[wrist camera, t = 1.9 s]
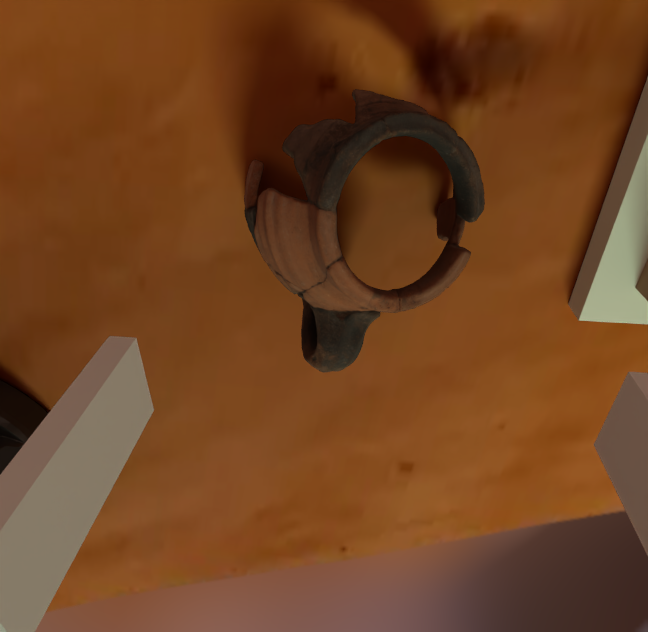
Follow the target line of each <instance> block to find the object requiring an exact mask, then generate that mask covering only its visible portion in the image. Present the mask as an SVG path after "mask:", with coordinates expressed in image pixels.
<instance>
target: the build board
mask: <svg viewBox="0 0 648 632" xmlns="http://www.w3.org/2000/svg"><path fill="white" fill-rule="evenodd" d="M647 259H648V77H647V80H646V83H645V86H644V89H643V92H642V94H641V97H640V100H639V103H638V106H637V109H636V112H635V114H634V117H633V120H632V123H631V126H630V129H629V132H628V135H627V137H626V140H625V143H624V146H623V149H622V152H621V155H620V157H619V160H618V163H617V166H616V169H615V172H614V175H613V178H612V180H611V183H610V186H609V189H608V192H607V195H606V198H605V201H604V203H603V206H602V209H601V212H600V215H599V218H598V221H597V223H596V226H595V229H594V232H593V235H592V238H591V241H590V244H589V246H588V249H587V252H586V255H585V258H584V261H583V264H582V267H581V269H580V272H579V275H578V278H577V281H576V284H575V287H574V289H573V292H572V295H571V298H570V301H569V304H568V305H569V306H570V308H571V309H572V311H573V312H574V314H575V316H576V317H577V319H578V320H580V321H598V322H617V323H635V324H648V301H647V300H646V299H645V298H644V297H643V296H642V295H641V293H640V292H639V291H638V290H637V289H636V288H635V287H636V285H637V282H638V280H639V278H640V275H641V273H642V271H643V268H644V266H645V264H646V261H647Z"/></svg>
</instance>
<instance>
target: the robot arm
mask: <svg viewBox="0 0 648 632" xmlns="http://www.w3.org/2000/svg"><path fill="white" fill-rule="evenodd" d="M153 411H154V409H153V404H152V400H151V396H150V392H149V388H148V384H147V380H146V376H145V372H144V368H143V364H142V360H141V355H140V351H139V347H138V343H137V339H136V338H131V337H116V336H109V337H108V338H107V340H106V341H105V342H104V344H103V345H102V346H101V347H100V349H99V350H98V351H97V352H96V354H95V355H94V356H93V358H92V359H91V360H90V361H89V363H88V364H87V365H86V366H85V368H84V369H83V370H82V372H81V373H80V374H79V375H78V377H77V378H76V379H75V380H74V382H73V383H72V384H71V386H70V387H69V388H68V389H67V391H66V392H65V393H64V394H63V396H62V397H61V398H60V400H59V401H58V402H57V403H56V405H55V406H54V407H53V408H52V410H51V411H50V412H49V413H47V412H46V411H45V410H44V409H43V408H42V407H41V406H39V405H38V404H37V403H36V402H34V401H33V400H32V399H30V398H29V397H27V396H26V395H25V394H23V393H22V392H20V391H18V390H17V389H15V388H13V387H12V386H10V385H8V384H6V383H4V382H2V381H0V632H35V630H36V629H37V626H38V625H39V623H40V621H41V619H42V617H43V615H44V614H45V612H46V610H47V608H48V606H49V604H50V602H51V601H52V599H53V597H54V595H55V593H56V591H57V589H58V588H59V586H60V584H61V582H62V580H63V578H64V576H65V575H66V573H67V571H68V569H69V567H70V565H71V563H72V562H73V560H74V558H75V556H76V554H77V552H78V550H79V549H80V547H81V545H82V543H83V541H84V539H85V537H86V536H87V534H88V532H89V530H90V528H91V526H92V524H93V523H94V521H95V519H96V517H97V515H98V513H99V511H100V510H101V508H102V506H103V504H104V502H105V500H106V498H107V497H108V495H109V493H110V491H111V489H112V487H113V485H114V483H115V482H116V480H117V478H118V476H119V474H120V472H121V470H122V469H123V467H124V465H125V463H126V461H127V459H128V457H129V456H130V454H131V452H132V450H133V448H134V446H135V444H136V443H137V441H138V439H139V437H140V435H141V433H142V431H143V430H144V428H145V426H146V424H147V422H148V420H149V418H150V417H151V415H152V413H153ZM594 446H595V448H596V450H597V452H598V454H599V457H600V459H601V461H602V463H603V465H604V467H605V469H606V471H607V473H608V475H609V477H610V479H611V481H612V483H613V485H614V487H615V489H616V492H617V494H618V496H619V498H620V500H621V502H622V504H623V506H624V508H625V510H626V512H627V514H628V516H629V518H630V520H631V522H632V524H633V527H634V529H635V531H636V533H637V535H638V537H639V539H640V541H641V543H642V545H643V547H644V549H645V551H646V553H647V555H648V373H639V372H628V374H627V376H626V378H625V380H624V382H623V385H622V387H621V389H620V391H619V393H618V395H617V397H616V399H615V401H614V403H613V406H612V408H611V410H610V412H609V414H608V416H607V418H606V420H605V422H604V425H603V427H602V429H601V431H600V433H599V435H598V437H597V439H596V441H595V443H594Z"/></svg>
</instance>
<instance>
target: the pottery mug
mask: <svg viewBox="0 0 648 632" xmlns="http://www.w3.org/2000/svg"><path fill="white" fill-rule="evenodd" d="M352 96H353V99H354V100H355V102H356V107H355V110H356V118H355V119H356V120H355V123H354V124H351V123H348V122H345V121H343V120H340V119H335V120H334V119H326V120H323V121H320V122H318V123H316V124H313V125H306V124H303V125H299V126H297V127H296V128H295V129H294V130H293V131H292V132H291V134H290V135H289V136H288V137H287V138H286V140H285V141H284V143H283V146H282V148H283V151H284V152H285V153H286V154H288V155H289V156H290V157H292V158H294V164H295V167H296V170H297V172H298V174H299V175H300V177H301V179H302V183H303V186H304V188H305V191H306V195H307V198H308V200H301V199H298V198H294V197H290V196H287V195H284V194H282V193H280V192H279V191H277V190H276V189H273V188H268V189H267V190H265V191H263V192H262V193H261V194H260V195H259V197H258V204H257V195H258V189H259V184H260V180H261V176H262V172H263V169H264V164H263V163H262V162H261V161H258V160H253V161H252V163H251V164H250V166H249V170H248V174H247V177H246V188H245V195H244V202H245V217H246V221H247V223H248V227H249V230H250V232H251V234H252V236H253V239H254V241H255V243H256V245H257V248H258V249H259V251H260V253H261V255H262V257H263V259H264V261H265V262H266V263H267V264H268V266H269V268H270V269H271V271H272V272H273V273H274V275H275V276H276V277H277V279H278V280H279V281H280V282H281V283H282V284H283V285H284V286H285V287H286V288H287V289H288V290H289V291H291V292H292V293H294V294H298V295H299V297H301V298H302V300H303V306H304V309H303V318H302V329H301V336H302V350H303V356H304V358H305V360H306V361H307V362H308V363H309V364H310V365H312V366H313V367H314V368H316V369H318V370H319V371H321V372H330V371H340V370H343V369H344V368H346V367H347V366H349V365H350V364H352V363H353V362H354V361H355V359H356V358H357V356H358V354H359V352H360V350H361V347H362V344H363V339H364V335H365V332H366V330H367V328H368V326H369V325H370V324H371V323H372V322H373V321H374V320H375V319H376V318H378V317H379V316H380V312H390V313H396V312H400V311H406V310H409V309H413V308H416V307H418V306H421V305H423V304H425V303H427V302H429V301H431V300H433V299H434V298H436V297H437V296H439V295H440V294H441V293H442V292H443V291H444V290H445V289H446V288H448V287H449V286H450V285H451V284H452V283H453V282H454V281H455V280H456V279H457V277H458V276H459V274H460V273H461V271H462V270H463V268H464V267H465V266H466V264H467V262H468V260H469V258H470V255H471V252H470V251H468V250H467V249H465V248H463V247H460V246H458V244H459V242H460V239H461V237H462V233H463V230H464V225H465V221H467V222H474V221H476V220H477V218H478V217H479V216H480V214H481V213H482V212H483V210H484V205H485V202H484V189H483V183H482V180H481V175H480V170H479V166H478V164H477V161H476V158H475V157H474V154H473V152H472V151H471V149H470V148H469V146H468V145H467V144H466V142H465V141H464V140H463V139H462V138H461V137H459V136H458V135H457V133H456V131H455V130H454V129H453V128H451V127H450V126H449V125H448V124H447V123H446V122H444V121H442V120H439V119H437V118H436V117H433V116H431V115H429V114H428V113H427V112H426V110H424V109H423V108H422V107H420V106H418V105H416V104H414V103H411V102H406V101H404V100H398V99H394V98H391V97H388V96H384V95H381V94H377V93H374V92H371V91H365V90H357V89H355V90H353V92H352ZM397 136H411V137H414V138H418V139H420V140H423V141H425V142H427V143H428V144H430V145H431V146H432V147H433V148H435V149H436V150H437V152H438V153H439V154H440V156H441V157H442V158H443V160H444V161H445V163H446V164H447V166H448V168H449V170H450V173H451V176H452V180H453V198H449V199H448V200H446V201H445V202H443V203H441V204H440V205H439V208H438V211H437V235H438V238H440V239H441V240H444V241H447V240H448V242H447V244H446V246H445V247H444V249H443V252H442V253H441V255H440V256H439V258H438V260H437V261H436V262H435V264H434V265H433V266H432V267H431V269H430V270H429V271H428V272H427V273H426V274H425V275H424V276H422V277H421V278H420V279H419V280H417V281H416V282H414V283H412V284H410V285H408V286H406V287H403V288H400V289H392V290H389V291H386V290H380V289H376V288H373V287H370V286H368V285H366V284H365V283H364V282H362V281H361V280H360V279H358V278H357V277H356V276H355V274H354V273H353V272H352V271H351V270H350V268H349V267H348V265H347V263H346V261H345V259H344V257H343V256H342V252H341V249H340V245H339V242H338V236H337V210H336V206H337V203H338V200H339V198H340V194H341V191H342V188H343V185H344V183H345V181H346V179H347V177H348V175H349V173H350V172H351V170H352V169H353V167H354V166H355V165H356V164H357V162H358V161H359V160H360V159H361V158H362V156H364V155H365V153H367V152H368V151H369V150H370V149H371V148H372V147H374V146H375V145H377V144H379V143H380V142H381V141H382V140H385V139H389V138H391V137H397Z"/></svg>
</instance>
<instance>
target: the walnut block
mask: <svg viewBox="0 0 648 632" xmlns="http://www.w3.org/2000/svg"><path fill="white" fill-rule="evenodd" d="M635 288H636V289H637V290H638V291H639V292H640V293H641V295H642V296H643V297H644V298H645V299H646V300H647V301H648V259H647V261H646V264H645V266H644V268H643V271H642V273H641V275H640V278H639V280H638V282H637V285H636V287H635Z"/></svg>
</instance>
